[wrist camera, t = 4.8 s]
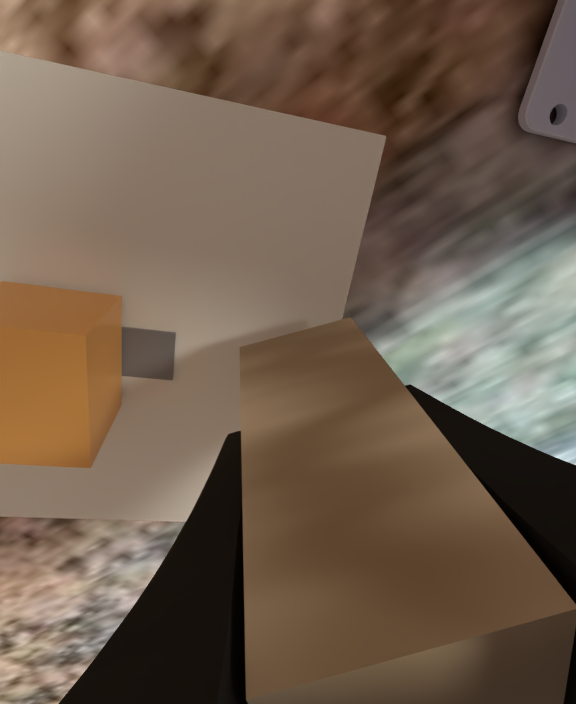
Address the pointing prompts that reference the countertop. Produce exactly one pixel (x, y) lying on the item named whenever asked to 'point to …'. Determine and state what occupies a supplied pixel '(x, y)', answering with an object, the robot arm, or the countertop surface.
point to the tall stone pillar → (379, 545)
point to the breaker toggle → (57, 374)
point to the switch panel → (170, 259)
